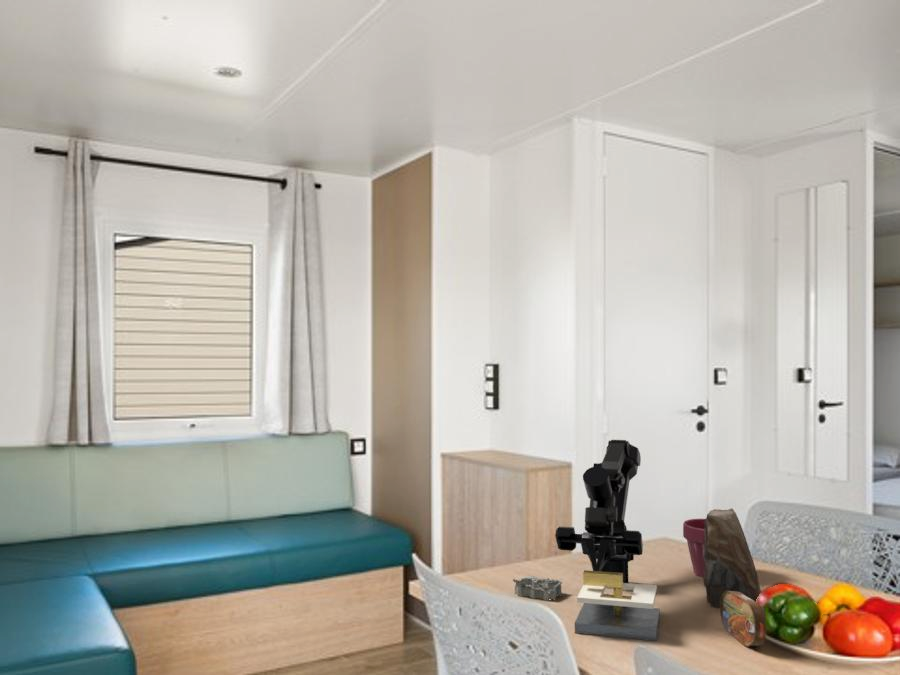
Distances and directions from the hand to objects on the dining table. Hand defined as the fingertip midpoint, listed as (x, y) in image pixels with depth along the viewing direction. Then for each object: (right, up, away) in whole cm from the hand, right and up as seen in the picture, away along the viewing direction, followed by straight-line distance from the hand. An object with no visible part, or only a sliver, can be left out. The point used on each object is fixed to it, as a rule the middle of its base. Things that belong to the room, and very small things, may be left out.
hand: (595, 574), depth 166 cm
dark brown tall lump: (+33, -9, +9) cm, 35 cm away
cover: (+4, -3, -5) cm, 7 cm away
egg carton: (-10, -10, +17) cm, 22 cm away
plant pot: (+36, -10, +32) cm, 49 cm away
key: (+2, -7, -5) cm, 9 cm away
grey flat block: (+4, -9, -6) cm, 11 cm away
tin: (+26, -9, -14) cm, 31 cm away
